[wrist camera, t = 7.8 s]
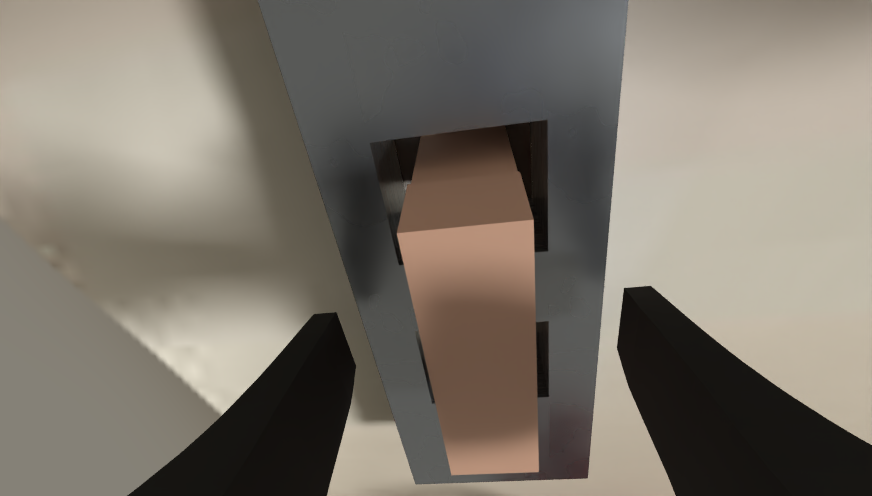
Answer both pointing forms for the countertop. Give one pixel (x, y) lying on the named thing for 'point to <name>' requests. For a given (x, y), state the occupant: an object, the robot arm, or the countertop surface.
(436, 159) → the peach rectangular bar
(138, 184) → the countertop surface
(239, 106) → the countertop surface
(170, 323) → the countertop surface
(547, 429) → the gray slotted board
